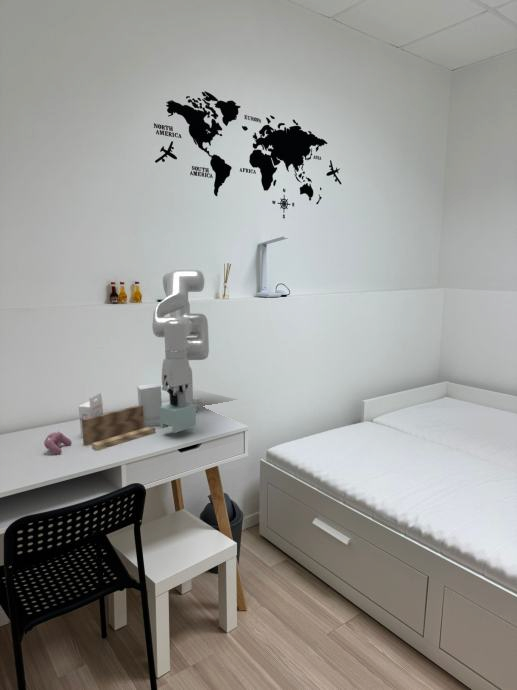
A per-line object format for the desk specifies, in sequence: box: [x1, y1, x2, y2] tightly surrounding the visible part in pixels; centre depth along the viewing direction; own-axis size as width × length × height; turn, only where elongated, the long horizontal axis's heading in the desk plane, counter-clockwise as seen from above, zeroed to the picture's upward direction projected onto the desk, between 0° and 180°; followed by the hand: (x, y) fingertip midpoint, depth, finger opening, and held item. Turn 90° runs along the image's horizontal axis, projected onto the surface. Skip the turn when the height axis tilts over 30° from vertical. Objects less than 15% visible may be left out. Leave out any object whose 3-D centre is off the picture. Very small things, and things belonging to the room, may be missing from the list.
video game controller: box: [43, 431, 72, 456], centre depth 168 cm, size 10×5×7 cm, turn 179°
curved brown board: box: [82, 404, 156, 451], centre depth 178 cm, size 24×9×9 cm, turn 138°
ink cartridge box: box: [78, 392, 104, 438], centre depth 183 cm, size 9×5×15 cm, turn 168°
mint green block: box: [160, 391, 197, 434], centre depth 182 cm, size 10×8×13 cm
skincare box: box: [136, 382, 163, 428], centre depth 194 cm, size 8×7×16 cm
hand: (177, 403), depth 181 cm, fingers closed on mint green block, 2 cm apart
